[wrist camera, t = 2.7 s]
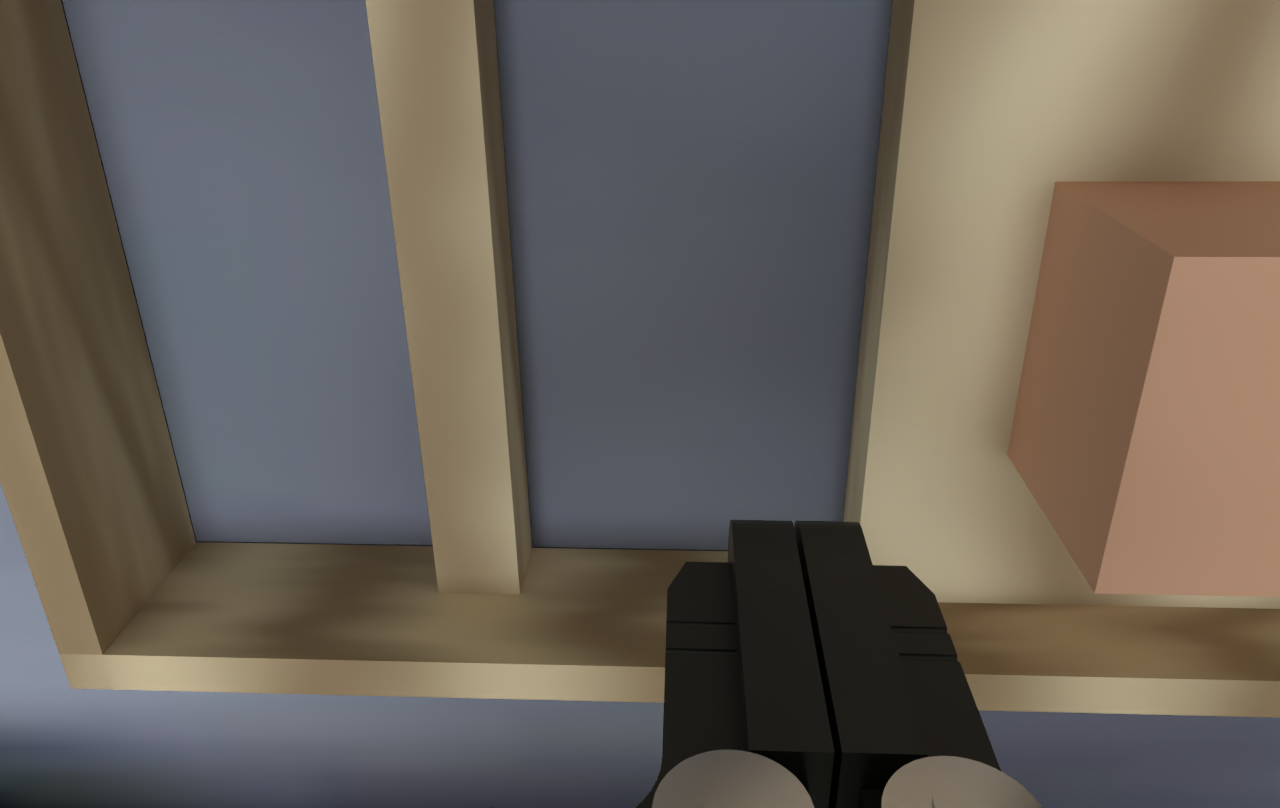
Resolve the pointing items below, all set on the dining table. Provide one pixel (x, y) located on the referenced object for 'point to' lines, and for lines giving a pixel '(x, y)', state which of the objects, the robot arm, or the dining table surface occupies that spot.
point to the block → (1158, 385)
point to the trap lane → (491, 390)
